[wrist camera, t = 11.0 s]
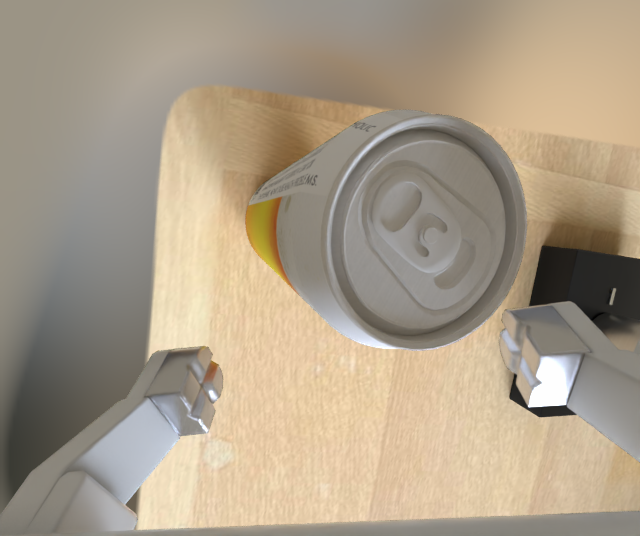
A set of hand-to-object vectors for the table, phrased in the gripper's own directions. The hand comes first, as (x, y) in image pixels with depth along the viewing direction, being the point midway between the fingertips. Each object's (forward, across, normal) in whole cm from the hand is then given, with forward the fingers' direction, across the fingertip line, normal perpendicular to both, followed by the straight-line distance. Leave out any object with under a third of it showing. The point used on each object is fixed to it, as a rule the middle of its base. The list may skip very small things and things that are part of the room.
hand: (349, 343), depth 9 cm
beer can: (+13, +4, +2) cm, 14 cm away
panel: (+17, -18, +19) cm, 31 cm away
